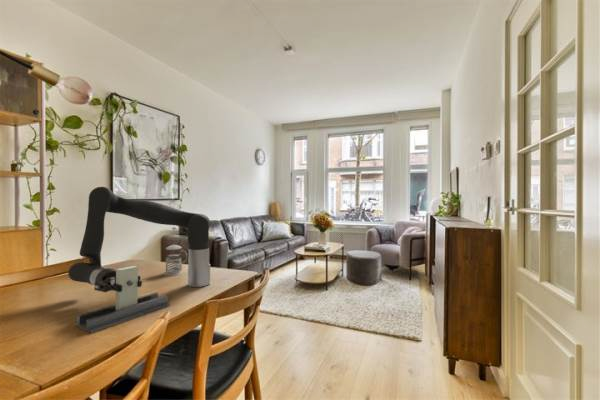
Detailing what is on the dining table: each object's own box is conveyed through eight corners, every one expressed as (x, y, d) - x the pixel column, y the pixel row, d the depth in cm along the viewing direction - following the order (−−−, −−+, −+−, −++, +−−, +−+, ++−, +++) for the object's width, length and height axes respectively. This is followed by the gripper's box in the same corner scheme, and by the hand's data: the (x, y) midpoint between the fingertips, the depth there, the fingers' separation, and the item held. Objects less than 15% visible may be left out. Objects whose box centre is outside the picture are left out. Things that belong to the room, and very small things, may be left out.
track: (153, 300, 111) (154, 291, 111) (169, 305, 106) (169, 296, 106) (75, 325, 88) (75, 314, 88) (90, 333, 83) (90, 322, 83)
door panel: (133, 304, 100) (134, 265, 100) (139, 306, 99) (139, 267, 99) (115, 310, 95) (116, 269, 95) (121, 312, 93) (121, 270, 93)
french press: (164, 271, 155) (165, 226, 155) (187, 269, 159) (187, 226, 159) (162, 276, 146) (163, 228, 146) (186, 274, 150) (187, 227, 150)
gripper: (83, 272, 98) (108, 280, 90) (126, 264, 111) (151, 270, 102) (83, 293, 98) (107, 303, 90) (126, 283, 111) (151, 291, 102)
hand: (130, 286), depth 96 cm, fingers closed on door panel, 6 cm apart
